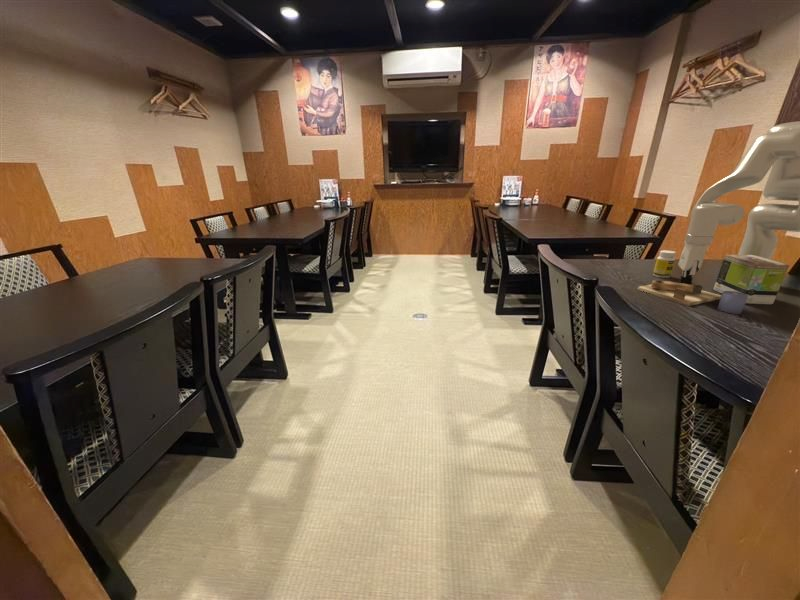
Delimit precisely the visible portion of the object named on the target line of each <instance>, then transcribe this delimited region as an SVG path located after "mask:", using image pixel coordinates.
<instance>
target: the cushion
mask: <svg viewBox="0 0 800 600" xmlns="http://www.w3.org/2000/svg"><path fill="white" fill-rule="evenodd" d="M721 296H722V297H721V299H719V302H718V305H717V308H718V309H719V310H718V309H717V310H718V311H721V312H723V311H724V312H723V313H727V314H735V315H737V314H738V315H741V314H742V313H743V310H744V308H745V306H746V304H747V303H746V300H747V298H748V295H746V294H744V293H740V292H734V291H724V292H723V294H722V293H721Z"/></svg>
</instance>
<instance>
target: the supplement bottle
mask: <svg viewBox="0 0 800 600" xmlns="http://www.w3.org/2000/svg"><path fill="white" fill-rule="evenodd" d="M676 253H677V252H676V251H675V250H674V251H672V250H666V249H665V250H664V249H663V250H660V252H659V256H658V257H656V261H655V264H654V268H653V272H652V276H654V277H656V278H663V279H666V278H667V279H668V278H670V277H671V275H672V271H673V268H674V266H675V261H676V258H675V256H676Z"/></svg>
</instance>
